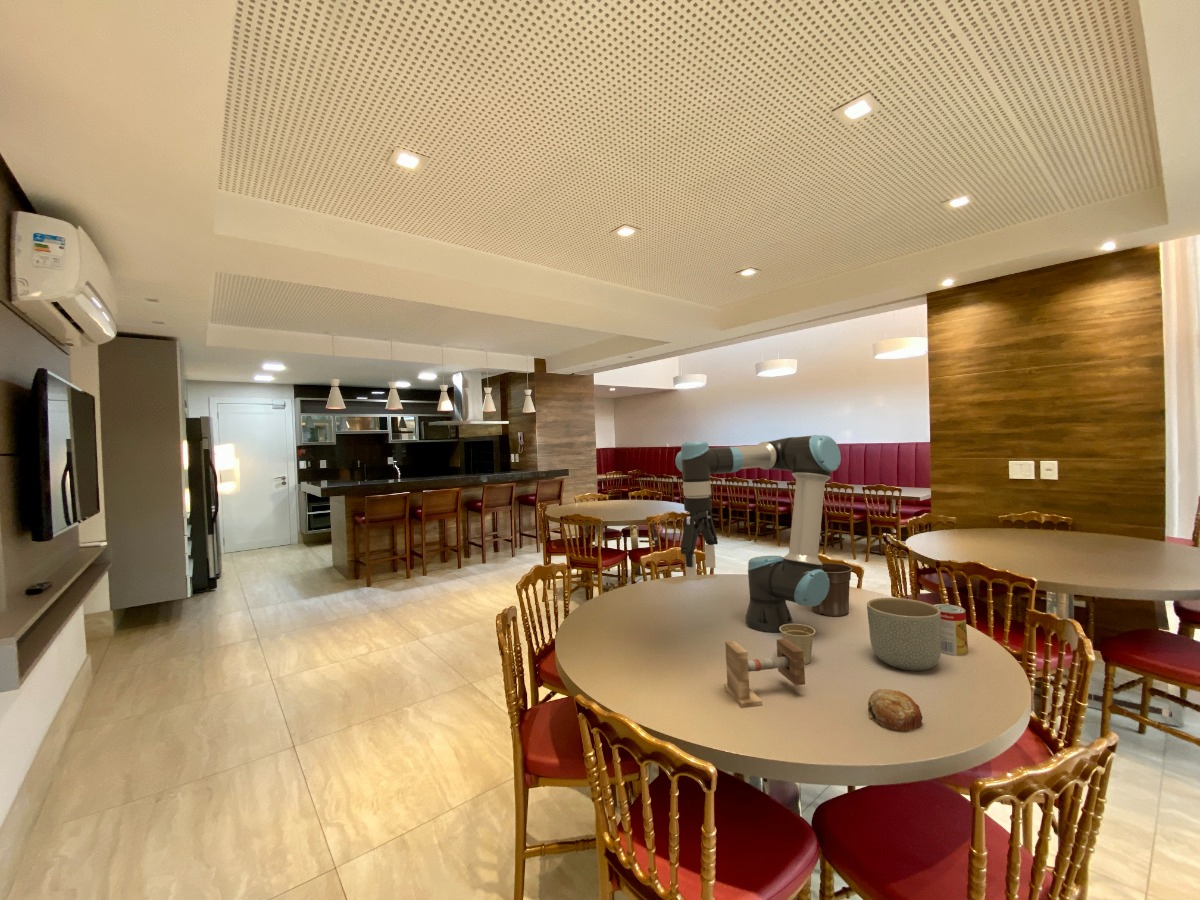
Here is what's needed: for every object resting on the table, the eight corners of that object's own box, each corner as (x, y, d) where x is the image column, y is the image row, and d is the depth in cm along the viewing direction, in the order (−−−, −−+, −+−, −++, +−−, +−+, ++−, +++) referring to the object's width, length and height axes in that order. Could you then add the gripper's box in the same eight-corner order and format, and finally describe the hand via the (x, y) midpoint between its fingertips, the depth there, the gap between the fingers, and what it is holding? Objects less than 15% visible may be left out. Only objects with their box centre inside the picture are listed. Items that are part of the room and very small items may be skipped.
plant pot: (797, 606, 181) (794, 563, 182) (837, 603, 183) (834, 560, 183) (821, 620, 165) (818, 573, 165) (865, 616, 167) (862, 570, 167)
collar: (787, 670, 123) (785, 638, 123) (805, 684, 115) (803, 650, 115) (778, 671, 122) (776, 639, 122) (795, 685, 114) (793, 651, 114)
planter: (880, 646, 142) (877, 594, 142) (949, 661, 130) (946, 604, 130) (861, 665, 130) (858, 608, 130) (936, 683, 118) (932, 621, 118)
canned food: (969, 649, 137) (967, 607, 137) (966, 658, 131) (963, 614, 131) (936, 642, 142) (934, 602, 142) (931, 651, 136) (929, 609, 137)
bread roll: (867, 724, 108) (850, 694, 108) (904, 701, 109) (888, 671, 109) (897, 751, 98) (880, 717, 98) (938, 725, 99) (921, 691, 99)
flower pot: (801, 670, 129) (799, 638, 129) (773, 658, 137) (772, 627, 137) (824, 662, 133) (822, 630, 133) (796, 650, 141) (795, 621, 141)
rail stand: (792, 679, 124) (790, 632, 124) (816, 697, 114) (813, 647, 114) (724, 687, 121) (721, 640, 121) (741, 707, 111) (739, 655, 111)
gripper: (702, 492, 146) (705, 562, 146) (664, 501, 125) (669, 582, 125) (725, 492, 142) (730, 564, 141) (691, 501, 121) (696, 585, 121)
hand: (701, 572), depth 133 cm, fingers open, 13 cm apart
